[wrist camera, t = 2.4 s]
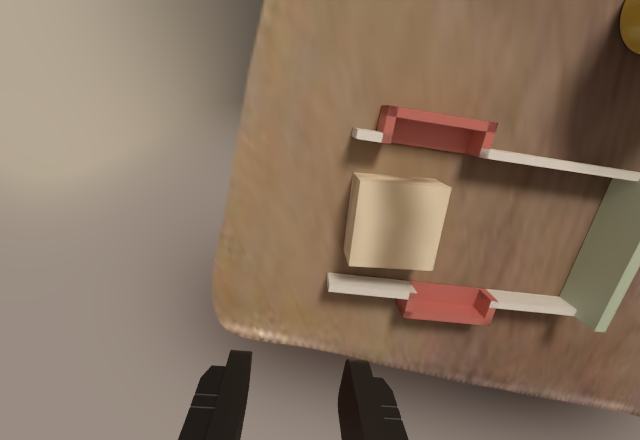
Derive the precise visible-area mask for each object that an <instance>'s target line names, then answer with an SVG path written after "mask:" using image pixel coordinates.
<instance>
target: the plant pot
mask: <svg viewBox="0 0 640 440" xmlns="http://www.w3.org/2000/svg"><path fill="white" fill-rule="evenodd" d="M620 33H621V36H622V39H623V41H624V43H625V44H626V46H627V47H628V48H629V49H630V50H631V51H633V52H635V53H637V54H640V0H625V3H624V5H623V8H622V12H621V17H620Z"/></svg>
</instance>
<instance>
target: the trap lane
mask: <svg viewBox="0 0 640 440" xmlns="http://www.w3.org/2000/svg"><path fill="white" fill-rule="evenodd" d="M497 126H498V123H493V122H487V121H481V120H475V119H469V118H463V117H456V116H450V115H444V114H438V113H432V112H426V111H420V110H414V109H408V108H402V107H396V106H390V105H385V106H382V107H381V112H380V117H379V122H378V127H377V131H374V130H367V129H361V128H354V127H353V130H352V137H354V138H355V139H361V140H367V141H374V142H380V143H387V144H391V143H398V144H404V145H411V146H417V147H424V148H431V149H437V150H444V151H450V152H457V153H463V154H468V155H472V156H475V157H479V158H486V159H492V160H499V161H506V162H512V163H519V164H525V165H532V166H539V167H545V168H552V169H558V170H565V171H571V172H578V173H585V174H591V175H598V176H604V177H611V178H612V180H611V182H610V184H609V187H608V189H607V191H606V193H605V196H604V198H603V200H602V202H601V204H600V207H599V209H598V211H597V213H596V216H595V218H594V220H593V222H592V225H591V227H590V229H589V231H588V233H587V236H586V238H585V240H584V242H583V245H582V247H581V249H580V251H579V254H578V256H577V258H576V260H575V262H574V265H573V267H572V269H571V271H570V274H569V276H568V278H567V280H566V283H565V285H564V287H563V289H562V291H561V294H560V296H559V297H558V296H548V295H539V294H529V293H520V292H510V291H501V290H491V289H482V288H472V287H463V286H453V285H444V284H434V283H425V282H415V281H406V280H396V279H387V278H377V277H368V276H358V275H349V274H339V273H330V272H327V277H326V281H327V287H328V292H336V293H347V294H357V295H367V296H377V297H387V298H397V302H396V305H397V307H398V309H399V311H400V313H401V315H402V317H403V318H410V319H421V320H432V321H443V322H453V323H464V324H475V325H486V326H490V323H491V321H492V318H493V315H494V313H495V310H496V308H498V309H508V310H518V311H529V312H539V313H549V314H559V315H569V316H575V317H576V318H577V319H579V320H580V321H581V322H583V323H584V324H585V325H587V326H588V327H589V328H591V329H592V330H593V331H597V332H605V331H606V329H607V327H608V326H609V324H610V322H611V320H612V318H613V316H614V314H615V312H616V310H617V308H618V306H619V304H620V303H621V301H622V299H623V297H624V295H625V293H626V291H627V289H628V287H629V285H630V283H631V282H632V280H633V278H634V276H635V274H636V272H637V270H638V268H639V266H640V172H636V171H630V170H625V169H618V168H612V167H605V166H599V165H592V164H586V163H580V162H573V161H567V160H560V159H554V158H547V157H541V156H535V155H528V154H522V153H515V152H509V151H502V150H496V149H490V148H491V145H492V142H493V139H494V136H495V133H496V129H497Z"/></svg>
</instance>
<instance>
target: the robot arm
mask: <svg viewBox="0 0 640 440" xmlns="http://www.w3.org/2000/svg"><path fill="white" fill-rule="evenodd" d="M251 362H252V352H251V351H238V350H231V351H230V354H229V358H228V361H227V364H226V366H211V367H210V368H209V369H208V370H207V371H206V372H205V374H204V375H203V376H202V377H201V378H200V381H199V384H198V387H197V389H196V392H195V395H194V397H193V400H192V403H191V407H190V409H189V411H188V414H187V417H186V420H185V423H184V425H183V428H182V431H181V433H180V436H179V439H178V440H240V438H241V432H242V427H243V421H244V415H245V410H246V404H247V397H248V390H249V381H250V372H251ZM338 414H339V422H340V429H341V438H342V440H408V437H407V434H406V431H405V428H404V425H403V422H402V421H401V415H400V412H399V409H398V408H397V404H396V400H395V398H394V394H393V391H392V390H391V388H390V387H389V386H388V384H387V383H386V382H385V381H384V379H383V378H376V377H373V375H372V372H371V368H370V364H369V362H368V361H365V360H352V359H347V360H346V362H345V366H344V371H343V375H342V380H341V385H340V389H339V395H338Z"/></svg>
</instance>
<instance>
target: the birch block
mask: <svg viewBox="0 0 640 440" xmlns="http://www.w3.org/2000/svg"><path fill="white" fill-rule="evenodd" d="M451 189H452V188H451V187H449V186H447V185H445V184H443V183H441V182H439V181H437V180H435V179H429V178H416V177H404V176H392V175H380V174H368V173H355V172H353V178H352V186H351V193H350V201H349V209H348V217H347V225H346V233H345V240H344V248H343V250H344V253H345V256H346V259H347V262H348V266H355V267H373V268H391V269H409V270H427V271H433V267H434V262H435V258H436V254H437V249H438V245H439V241H440V236H441V232H442V228H443V223H444V219H445V215H446V210H447V206H448V202H449V197H450V193H451Z"/></svg>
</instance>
